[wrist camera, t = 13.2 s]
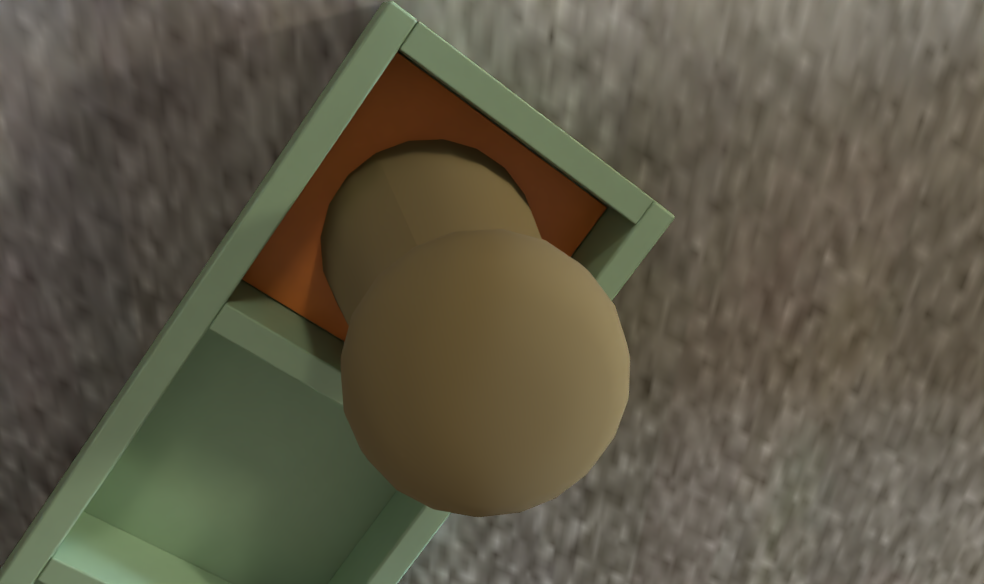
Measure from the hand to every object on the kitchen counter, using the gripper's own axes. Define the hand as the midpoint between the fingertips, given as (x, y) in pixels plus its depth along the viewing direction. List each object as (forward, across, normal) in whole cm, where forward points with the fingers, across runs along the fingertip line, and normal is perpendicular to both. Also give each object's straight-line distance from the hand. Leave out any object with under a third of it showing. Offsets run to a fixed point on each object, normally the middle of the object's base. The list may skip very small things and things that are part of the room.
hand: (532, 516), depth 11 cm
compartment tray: (+15, -6, -6) cm, 17 cm away
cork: (+15, 0, 0) cm, 15 cm away
